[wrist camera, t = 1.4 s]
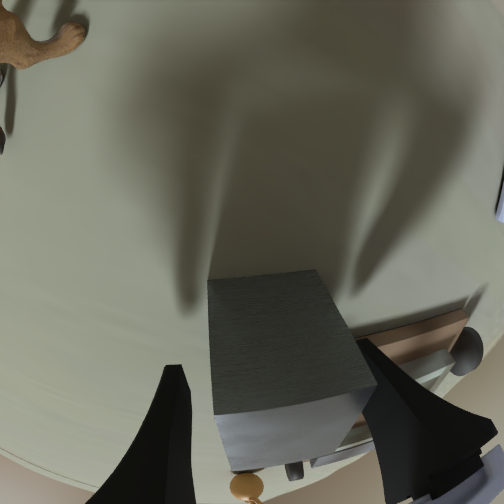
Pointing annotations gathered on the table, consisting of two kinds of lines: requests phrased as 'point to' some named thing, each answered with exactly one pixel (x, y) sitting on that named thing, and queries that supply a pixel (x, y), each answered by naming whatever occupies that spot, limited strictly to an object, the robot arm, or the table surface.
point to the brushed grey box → (282, 369)
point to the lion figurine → (33, 45)
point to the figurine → (247, 487)
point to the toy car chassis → (412, 370)
